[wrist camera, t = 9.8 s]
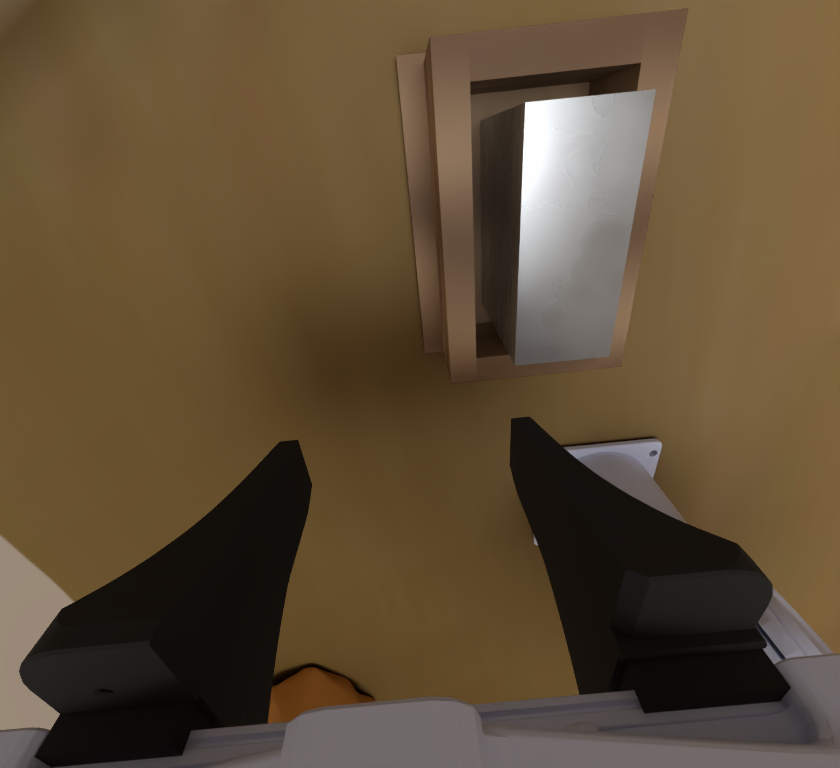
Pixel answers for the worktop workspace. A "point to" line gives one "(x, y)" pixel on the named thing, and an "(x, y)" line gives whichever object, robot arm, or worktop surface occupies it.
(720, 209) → the worktop surface
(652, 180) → the brown rectangular frame
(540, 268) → the silver metal block
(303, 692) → the coffee package
